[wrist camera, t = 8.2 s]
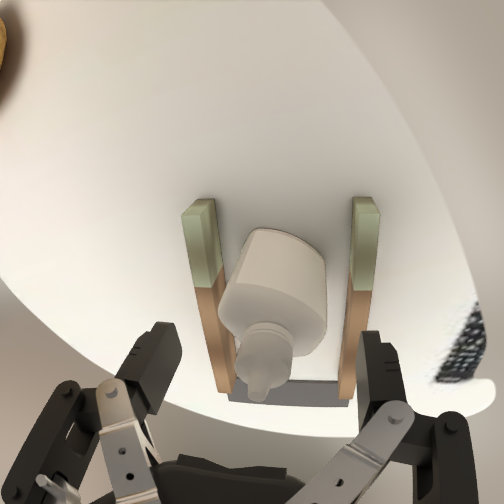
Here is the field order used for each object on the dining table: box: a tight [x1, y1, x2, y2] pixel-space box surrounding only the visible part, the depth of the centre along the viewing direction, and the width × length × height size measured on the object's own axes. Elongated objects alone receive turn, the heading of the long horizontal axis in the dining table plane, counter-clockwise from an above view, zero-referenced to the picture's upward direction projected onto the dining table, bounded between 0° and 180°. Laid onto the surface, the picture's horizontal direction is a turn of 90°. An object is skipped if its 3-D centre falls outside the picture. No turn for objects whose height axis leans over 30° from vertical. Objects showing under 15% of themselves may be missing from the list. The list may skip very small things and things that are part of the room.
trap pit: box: [227, 377, 349, 407], centre depth 29 cm, size 4×12×1 cm, turn 95°
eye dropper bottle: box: [218, 229, 327, 402], centre depth 17 cm, size 4×6×12 cm
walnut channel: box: [181, 197, 380, 399], centre depth 23 cm, size 16×11×3 cm
